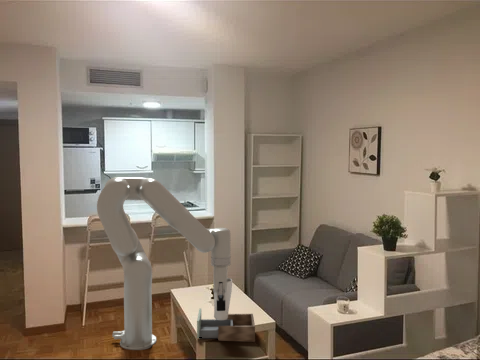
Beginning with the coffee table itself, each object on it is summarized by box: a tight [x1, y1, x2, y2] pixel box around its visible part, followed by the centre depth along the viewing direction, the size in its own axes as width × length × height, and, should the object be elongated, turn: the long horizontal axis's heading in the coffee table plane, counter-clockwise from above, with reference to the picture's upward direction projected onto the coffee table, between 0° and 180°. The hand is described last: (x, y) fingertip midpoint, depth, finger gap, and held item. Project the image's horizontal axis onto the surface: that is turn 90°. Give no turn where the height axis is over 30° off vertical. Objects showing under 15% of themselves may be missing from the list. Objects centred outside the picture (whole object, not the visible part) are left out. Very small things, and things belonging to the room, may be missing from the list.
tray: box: [196, 307, 233, 339], centre depth 153 cm, size 13×12×7 cm
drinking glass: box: [213, 277, 233, 320], centre depth 153 cm, size 7×7×15 cm
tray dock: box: [217, 313, 256, 343], centre depth 154 cm, size 14×12×6 cm
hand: (221, 306), depth 153 cm, fingers closed on drinking glass, 6 cm apart
